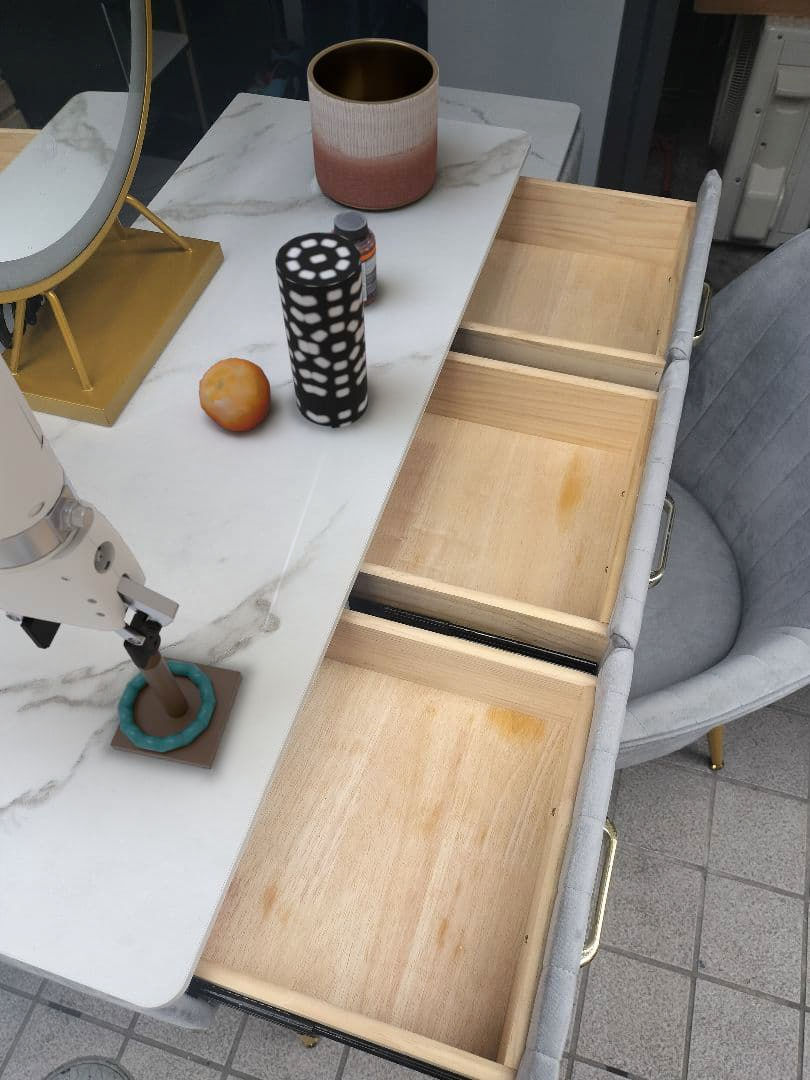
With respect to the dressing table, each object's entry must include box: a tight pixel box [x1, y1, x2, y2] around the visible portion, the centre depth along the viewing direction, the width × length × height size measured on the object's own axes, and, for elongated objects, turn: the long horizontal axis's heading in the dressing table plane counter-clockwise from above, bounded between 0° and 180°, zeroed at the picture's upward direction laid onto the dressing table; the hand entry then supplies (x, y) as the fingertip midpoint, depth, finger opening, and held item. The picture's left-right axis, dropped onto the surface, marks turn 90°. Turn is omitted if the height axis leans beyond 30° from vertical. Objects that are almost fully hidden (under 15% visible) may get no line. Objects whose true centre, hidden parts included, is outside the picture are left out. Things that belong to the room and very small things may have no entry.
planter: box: [306, 37, 440, 211], centre depth 114 cm, size 18×18×16 cm
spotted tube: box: [274, 231, 369, 429], centre depth 87 cm, size 8×8×20 cm
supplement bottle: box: [329, 209, 378, 308], centre depth 102 cm, size 6×6×11 cm
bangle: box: [116, 660, 216, 752], centre depth 73 cm, size 8×8×1 cm
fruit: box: [198, 357, 271, 432], centre depth 92 cm, size 8×8×8 cm
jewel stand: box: [110, 649, 243, 770], centre depth 69 cm, size 9×9×11 cm
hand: (99, 641), depth 64 cm, fingers open, 7 cm apart
